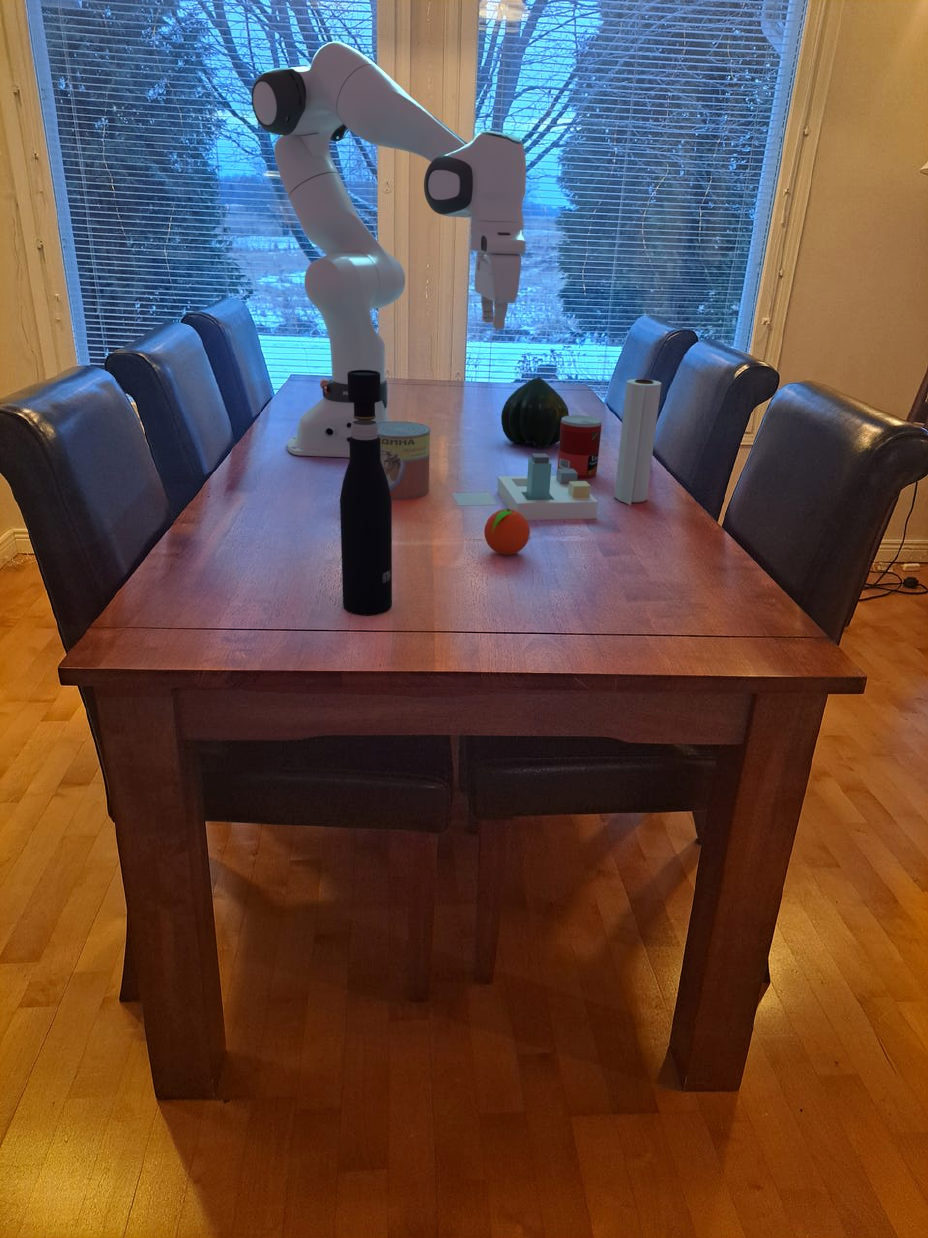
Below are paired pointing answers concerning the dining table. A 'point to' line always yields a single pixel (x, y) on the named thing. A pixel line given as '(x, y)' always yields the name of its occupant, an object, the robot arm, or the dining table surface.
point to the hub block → (550, 497)
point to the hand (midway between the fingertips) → (492, 325)
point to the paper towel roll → (637, 440)
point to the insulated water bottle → (365, 506)
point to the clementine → (507, 532)
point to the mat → (473, 499)
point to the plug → (538, 477)
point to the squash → (534, 414)
